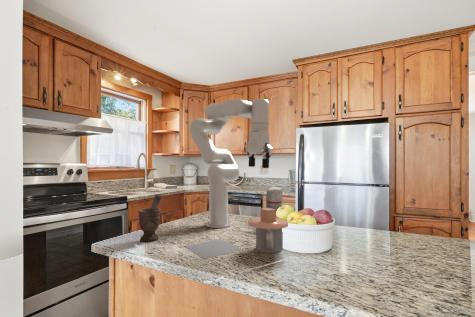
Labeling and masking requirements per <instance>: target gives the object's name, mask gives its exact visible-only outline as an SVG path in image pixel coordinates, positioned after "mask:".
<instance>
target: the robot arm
mask: <svg viewBox="0 0 475 317" xmlns="http://www.w3.org/2000/svg"><path fill="white" fill-rule="evenodd" d="M204 112H205V115H206V117H207V118H193V120H192V121H191V122H190V124H189V134H190V137H191V139H192V141H193V142H194V143H195V145H196V147H197V149H198V151H199V153H200V155H201V158H202V160H203V162H204V163H205V164H206V165H207V166H208V168H207V173H206V174H207V179H208V186H209V188H208V190H209V191H208V193H209V194H208V195H209V198H208V199H209V200H208V201H209V206H208V210H209V211H208V212H209V213H208V214H209V215H208V216H207V219H208V221H207V222H206V224H205V226H206V227H207V228H211V229H224V228H228V227H231V225H232V223H231V222H230V221H229V219H228V217H229V216H228V214H229V212H228V211H229V191H228V190H229V189H228V187H227V184H226V183H228V182H235V181H237V180H238V179H239V176H240V169H239V166H238V164H237V163H236V161H235V158H234V157H233V155H232V154H231V152H230V150H228V149H226V148H222V147H219V148H218V147H216V146H215V144H214V143H213V141H212V139H211V138H210V137H208V135H212V136H216V135H218V134H220V133H221V132H222V130H223V129H224V128H225V126H226V125H227V124H228V122H229V121H230V119H232V118H233V117H239V118H244V119H245V118H246V119H251V120H250V122H251V123H250V132H249V135H248V143H247V147H246V152H247V156H248V157H247V158H248V167H249V168H250V167H251V168H252V167H253V168H254V167H256V155H262V159H261V160H262V161H261V162H262V164H261V168H262V169H269V168H270V159H271V156H272V155H273V154H272V153H273V151H274V148H273V147H272V146H271V145H270V133H269V122H270V121H269V119H270V118H269V117H270V115H269V114H270V101H269V100H268V99H265V98H255V99H253V100H252V101H249V100H247V99H246V100H245V99H240V98H234V99H226V100H224V102H223V101H222V102H215V103H210V104H208V105H206V107H205V108H204Z"/></svg>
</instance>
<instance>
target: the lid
mask: <svg viewBox="0 0 475 317" xmlns="http://www.w3.org/2000/svg"><path fill="white" fill-rule="evenodd" d="M259 215H260V216H259V217H251V218H249V219H248V220H247V225H248V227H252V228H255V229H256V228H260V229H281V228H283V229H285V228H288V227H289V226H288V222H289V221H288V220H287V219H285V220H280V219H276V209H272V208H266V207H265V208H260V214H259ZM286 220H287V221H288V222H287V221H286Z"/></svg>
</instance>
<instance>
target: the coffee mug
mask: <svg viewBox="0 0 475 317" xmlns="http://www.w3.org/2000/svg"><path fill="white" fill-rule="evenodd" d="M283 234H284V231H283V232H282V228H281V229H260V228H255V250H257V251H259V252H262V253H266V254H275V253H276V254H277V253H280V252H281V251H283V249H284V248H283V247H284V245H283V244H284V243H283V242H284V238H283V237H284V236H283Z"/></svg>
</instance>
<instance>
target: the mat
mask: <svg viewBox="0 0 475 317" xmlns="http://www.w3.org/2000/svg"><path fill="white" fill-rule="evenodd" d="M184 247H185V248H187V249H188V250H190V251H191V252H193V253H194V254H195V255H197V256H198V257H200V258H202V259H203V260H206V259H209V258H214V257H215V258H216V257H219V256H224V255H227V254H230V253H231V254H232V253H236V252H240V251H243V249H242V248H240V247H238V246H236V245H233V244H232V243H230V242H227V240H224V239H221V238H217V239H212V240H208V241H202V242H197V243H192V244H187V245H184Z"/></svg>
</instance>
